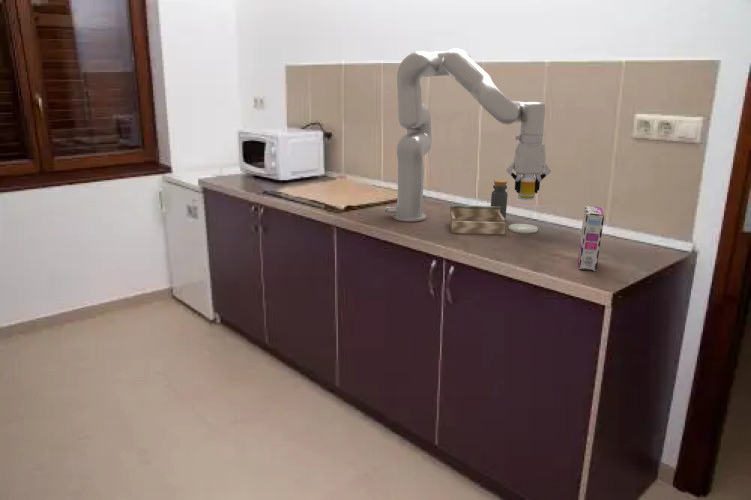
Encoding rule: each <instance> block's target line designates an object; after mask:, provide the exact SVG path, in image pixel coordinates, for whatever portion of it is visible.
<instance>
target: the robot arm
mask: <svg viewBox="0 0 751 500" xmlns="http://www.w3.org/2000/svg"><path fill="white" fill-rule="evenodd" d="M396 72H397V73H396V74H397V75H396V85H397V86H396V87H397V89H396V90H397V116H398V123H399V124H400V126H401V127H402V128H404V129H405V130H406V134H404V135H403V136H402V137H400V139H399V140H398V143H397V146H396V157H397V197H396V198H397V199H396V200H397V201H396V203H397V204H396V206H385V211H384V212H386V213H388V214H390V213H391V214H392V218H393V219H394V220H395V221H400V222H408V223H410V222H413V223H415V222H421V221H425V220H426V219H427V215H426V214H425V213H424V212H423V205H424V182H425V181H424V179H425V177H424V176H425V175H424V174H425V171H424V170H425V169H424V168H425V167H424V156H425V155H427V154H428V153H429V151H431V147H432V119H431V118H432V117H431V112H430V109H429V108H428V106H427V105H426V104H425V103H423V101H422V87H421V78H422V77H430V78H431V77H442V76H451V78H452V79H454V80H455V81H456V82H457V83H458V84H459V85H460V86H461V87H463V88H464V89H465V90H466V91H467V92H468V94H470V95H471V96H472V98H474V100H475V101H477V103H478V104H479V105H480V106H481V107H482V108H483V109H484V110H485V111H487V113H488V114H490V115H491V116H492V117H493V119H495V120H496V121H497V122H499V123H500V124H502V125H506V126H508V125H512V124H515V123H520V132H519V134H518V135H516V136H515V141H518V143H517V144H516V148H515V152H514V157H513V162H512V163H511V164H510V165H509V166H508V167H507V169H506V171H505V172H507V173H508V174H509V175H510V176H511V178H513V179H514V190H515V192H516V193H517V194H519V193H520V183H521V182H520V178H521V177H522V176H523V175H522V174H534V176H535V177H534V178H535V179H536V183H535V194H538V191H540V187H541V186H540V185H541V184H540V183H541V181H542V180H544V178H546V176H548V175H549V174H551V172H552V171H551V169H550V167H548V165H547V164H546V144H545V143H543V139H544V128H545V120H546V119H545V117H546V104H545V103H544V102H541V101H526V102H525V101H518V100H510V98H508V97H507V96H506V95H505V94H504V93H503V92H502V91H501V90H499V88H497V86H496V85H495V84H494V82H493V79H492V78H491V76H490V74H489V73H488V72H486V71H485V70H484V69H483V68H482V67H481V66H479V65H478V64H477V63H476V62H475V61H474V60H473V59H472V57H471V55H470V53H468V51H466V50H465V49H461V48H450V49H448V50H446V51H426V50H418V51H414V52H412V53H410V54H409V55H407V56H406V57H404V59H402V61H401V63H400V64H399V66H398V68H397V71H396ZM513 171H514V172H513ZM515 172H516V174H515Z"/></svg>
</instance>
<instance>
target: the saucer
mask: <svg viewBox="0 0 751 500" xmlns="http://www.w3.org/2000/svg"><path fill="white" fill-rule="evenodd" d="M538 230H539V228H538V226H536V225H533V224H528V223H511V224H510V225H508V231H510V232H512V233H516V234H526V235H530V234H535V233H538Z"/></svg>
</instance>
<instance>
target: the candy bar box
mask: <svg viewBox="0 0 751 500" xmlns="http://www.w3.org/2000/svg"><path fill="white" fill-rule="evenodd" d="M604 213H605V212H604V209H603V207H600V206H589V205H588V206H587V205H586V206H584V212H583V217H582V226H581V234H580V241H579V249H578V255H577V256H578V257H577V261H578V269H579V270H580V269H583V270H582V271H588V270H593V271H592V272H597V268H598V262H599V254H600V248H601V240H602V233H603V229H604V227H603V226H604V221H605V214H604Z"/></svg>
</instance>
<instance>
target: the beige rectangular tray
mask: <svg viewBox="0 0 751 500" xmlns="http://www.w3.org/2000/svg"><path fill="white" fill-rule="evenodd" d="M500 210H501V207H495V206H491V205H489V206H487V205H453V204H452V205H451V204H450V206H449V220H448V221H449V222H448V223H449V227H450V230H451V233H453V234H477V235H478V234H479V235H480V234H481V235H484V234H485V235H506V234H505V233H506V219H505V218H504V217H503V215H502V214H501V213H500Z"/></svg>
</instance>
